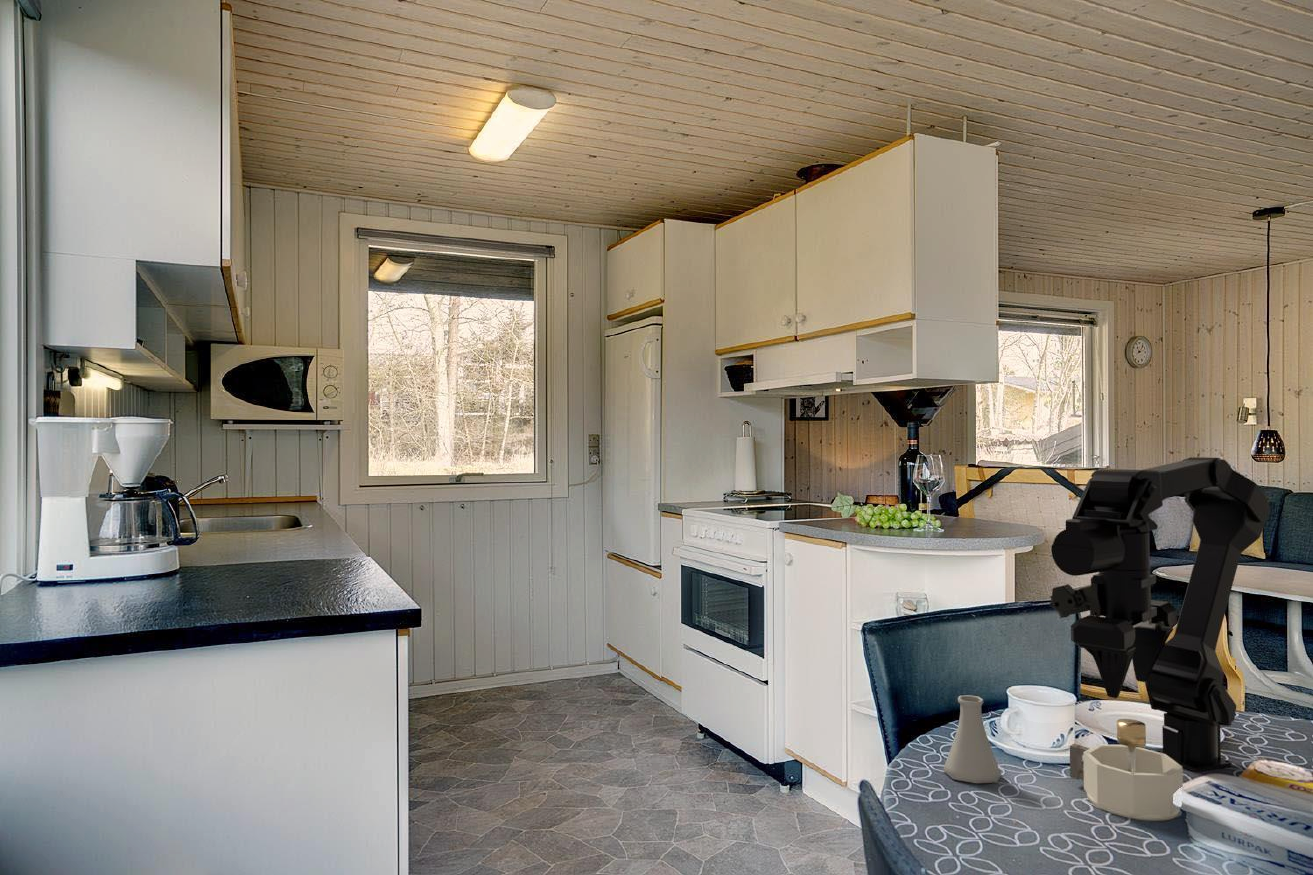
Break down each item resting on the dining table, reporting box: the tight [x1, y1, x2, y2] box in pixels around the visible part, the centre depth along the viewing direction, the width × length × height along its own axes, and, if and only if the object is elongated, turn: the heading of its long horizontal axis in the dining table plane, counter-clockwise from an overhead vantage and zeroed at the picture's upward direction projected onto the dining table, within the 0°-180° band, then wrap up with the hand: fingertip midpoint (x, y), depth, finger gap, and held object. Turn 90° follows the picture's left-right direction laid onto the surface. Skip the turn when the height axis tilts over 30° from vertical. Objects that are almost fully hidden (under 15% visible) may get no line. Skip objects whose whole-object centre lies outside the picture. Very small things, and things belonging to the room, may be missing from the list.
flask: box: [942, 694, 1002, 784], centre depth 110 cm, size 7×7×10 cm
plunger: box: [1116, 718, 1147, 773], centre depth 101 cm, size 7×7×9 cm
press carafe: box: [1069, 743, 1184, 822], centre depth 101 cm, size 10×12×5 cm
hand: (1127, 689), depth 106 cm, fingers open, 9 cm apart
